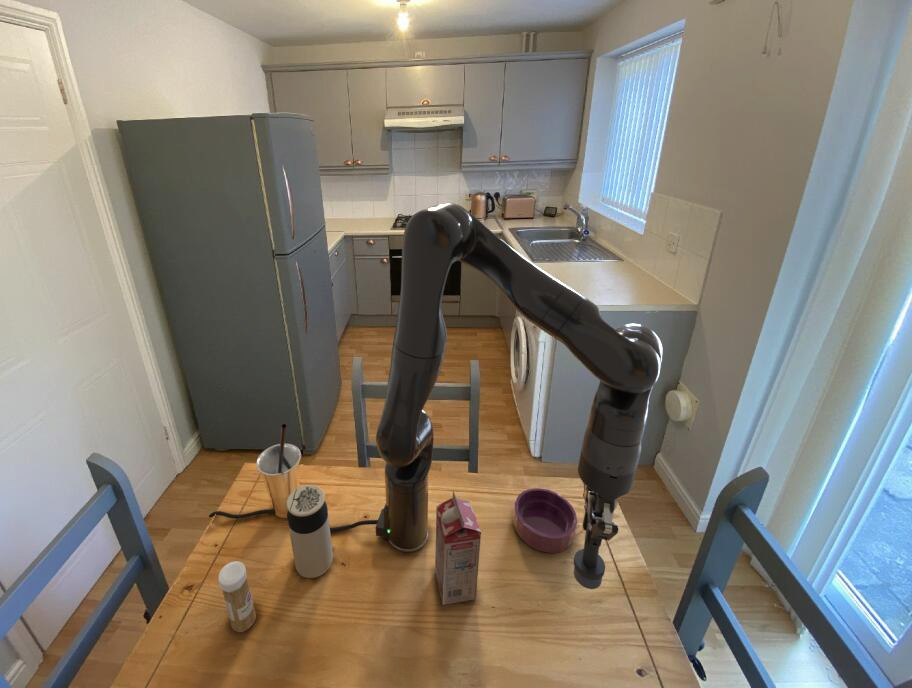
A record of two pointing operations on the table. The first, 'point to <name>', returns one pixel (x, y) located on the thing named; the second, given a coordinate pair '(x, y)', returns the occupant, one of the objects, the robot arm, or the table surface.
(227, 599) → the sprinkles bottle
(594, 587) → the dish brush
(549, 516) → the bowl
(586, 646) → the table surface
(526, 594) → the table surface
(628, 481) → the robot arm
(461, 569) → the juice carton
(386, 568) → the table surface
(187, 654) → the table surface
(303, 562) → the travel mug
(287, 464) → the metal cup with straw
